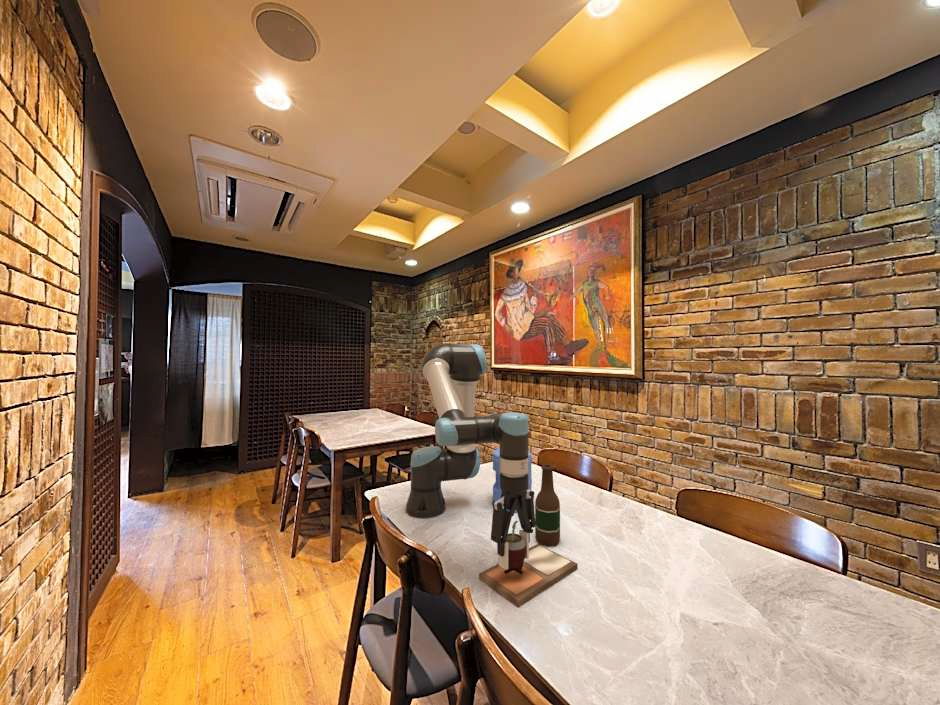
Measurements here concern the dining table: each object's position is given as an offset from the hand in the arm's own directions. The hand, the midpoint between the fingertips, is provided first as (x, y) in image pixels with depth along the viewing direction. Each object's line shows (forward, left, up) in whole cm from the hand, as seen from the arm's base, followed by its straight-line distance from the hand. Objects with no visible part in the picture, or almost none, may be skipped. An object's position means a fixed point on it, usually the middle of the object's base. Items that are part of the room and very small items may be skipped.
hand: (514, 561), depth 94 cm
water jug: (-35, +36, -6) cm, 50 cm away
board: (0, +6, -5) cm, 8 cm away
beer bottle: (-8, +24, -6) cm, 26 cm away
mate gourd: (0, 0, -2) cm, 2 cm away
